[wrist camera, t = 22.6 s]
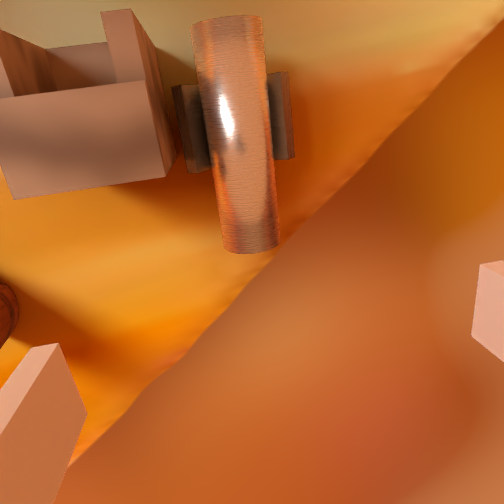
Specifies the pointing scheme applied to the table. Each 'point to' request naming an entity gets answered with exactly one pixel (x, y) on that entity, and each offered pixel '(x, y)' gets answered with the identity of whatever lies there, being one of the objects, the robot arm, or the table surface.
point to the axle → (238, 129)
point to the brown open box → (83, 112)
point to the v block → (195, 130)
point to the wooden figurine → (7, 313)
